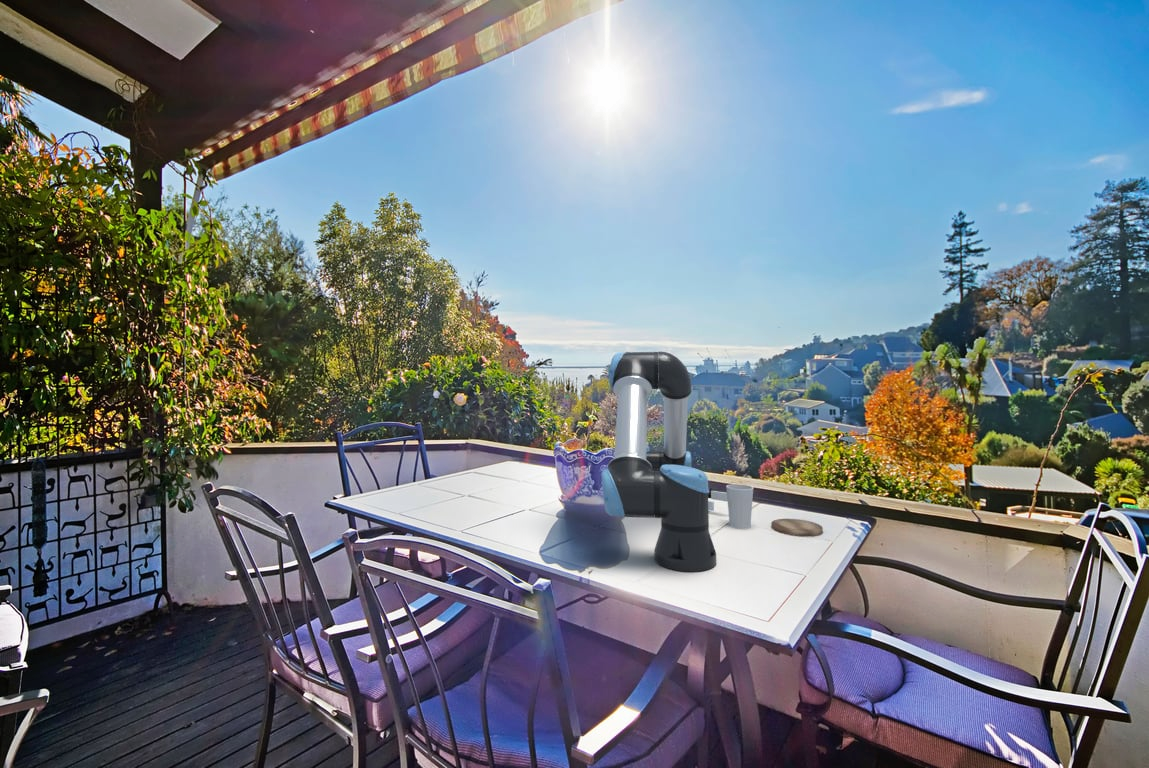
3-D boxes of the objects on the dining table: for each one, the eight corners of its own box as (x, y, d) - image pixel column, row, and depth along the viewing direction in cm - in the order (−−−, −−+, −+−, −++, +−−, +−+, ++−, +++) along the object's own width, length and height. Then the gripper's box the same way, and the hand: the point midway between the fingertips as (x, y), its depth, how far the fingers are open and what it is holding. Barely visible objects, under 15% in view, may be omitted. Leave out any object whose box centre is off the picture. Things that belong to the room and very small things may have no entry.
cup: (748, 531, 145) (748, 490, 145) (722, 526, 149) (722, 487, 149) (757, 524, 151) (756, 486, 151) (731, 520, 156) (731, 483, 156)
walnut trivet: (792, 538, 137) (792, 533, 137) (761, 524, 151) (761, 520, 151) (833, 534, 141) (833, 529, 141) (800, 520, 154) (800, 516, 154)
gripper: (679, 496, 177) (736, 505, 164) (644, 511, 158) (705, 522, 145) (679, 476, 177) (736, 483, 164) (643, 488, 158) (705, 497, 145)
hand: (722, 501), depth 154 cm, fingers open, 13 cm apart
